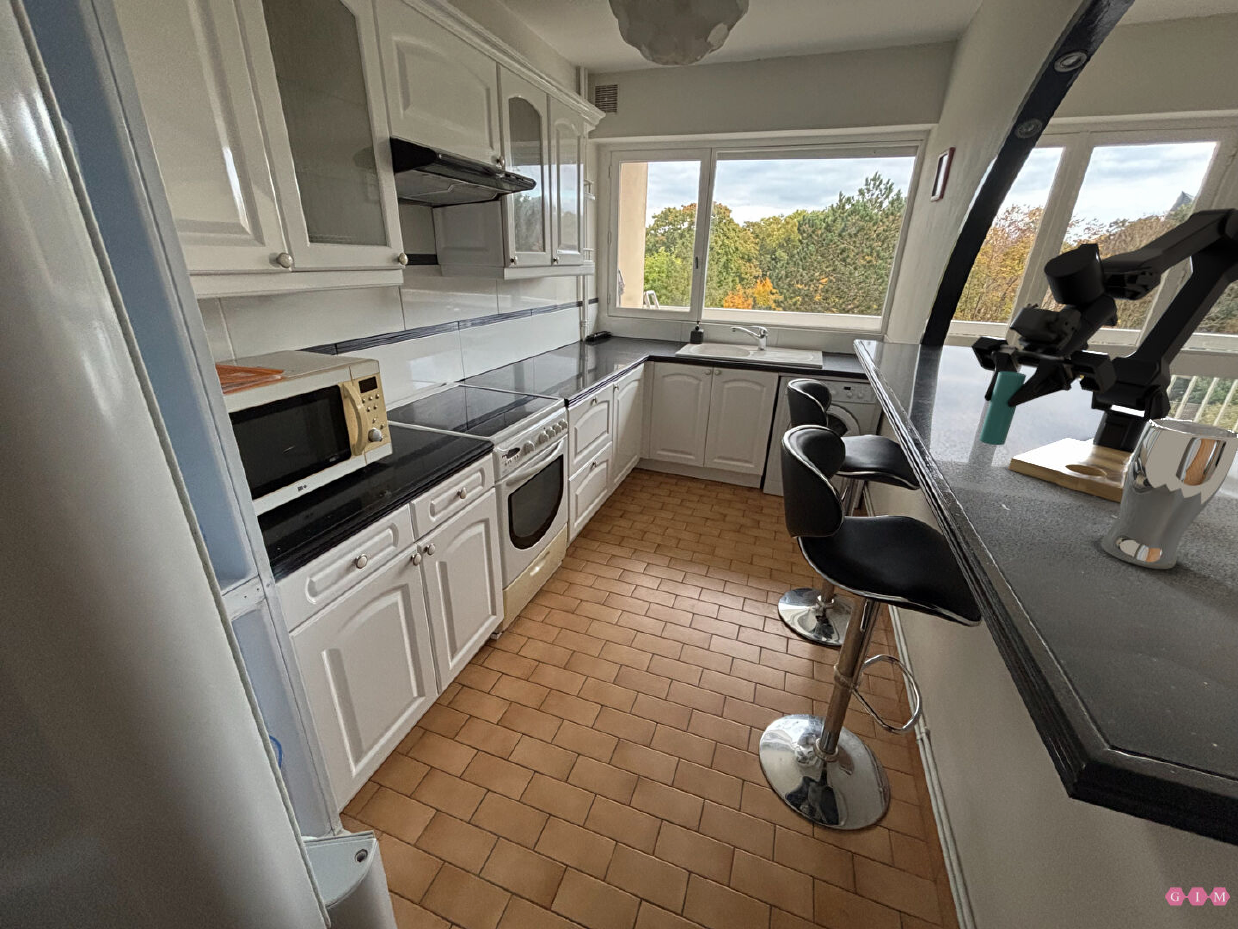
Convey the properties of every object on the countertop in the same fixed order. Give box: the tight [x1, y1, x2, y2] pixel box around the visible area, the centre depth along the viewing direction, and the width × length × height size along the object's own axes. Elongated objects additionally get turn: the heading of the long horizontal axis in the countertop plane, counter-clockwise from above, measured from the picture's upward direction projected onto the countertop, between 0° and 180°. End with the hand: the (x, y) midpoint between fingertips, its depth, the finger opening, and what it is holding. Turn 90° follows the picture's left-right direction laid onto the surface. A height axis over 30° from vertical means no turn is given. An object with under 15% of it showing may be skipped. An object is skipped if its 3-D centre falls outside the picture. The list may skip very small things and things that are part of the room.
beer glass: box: [1100, 418, 1238, 570], centre depth 54 cm, size 7×7×15 cm
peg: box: [978, 371, 1027, 446], centre depth 79 cm, size 3×3×11 cm
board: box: [1008, 438, 1133, 504], centre depth 79 cm, size 20×14×2 cm
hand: (997, 402), depth 78 cm, fingers closed on peg, 3 cm apart
